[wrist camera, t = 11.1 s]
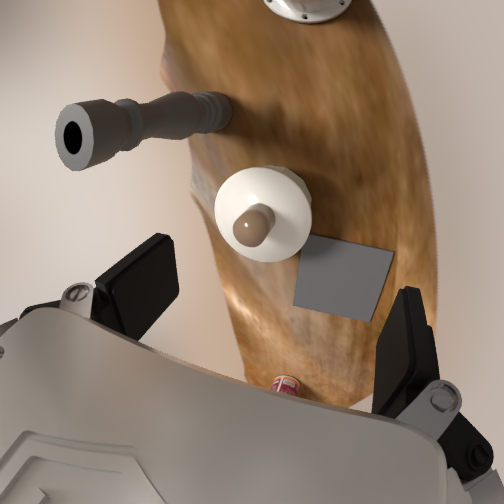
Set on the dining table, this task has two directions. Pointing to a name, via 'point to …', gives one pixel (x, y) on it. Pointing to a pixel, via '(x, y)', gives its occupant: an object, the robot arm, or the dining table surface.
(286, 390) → the pill bottle
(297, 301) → the mat
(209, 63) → the dining table surface
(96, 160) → the candle holder
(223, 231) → the lid
